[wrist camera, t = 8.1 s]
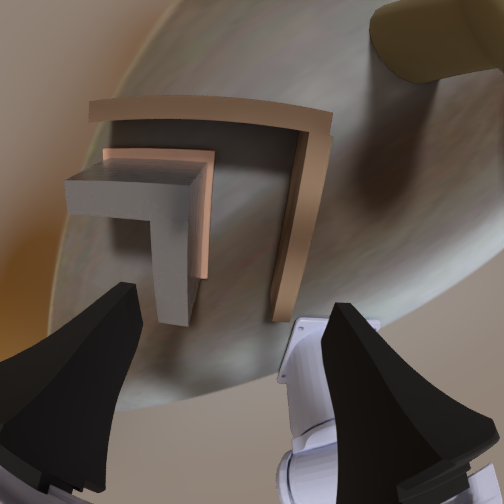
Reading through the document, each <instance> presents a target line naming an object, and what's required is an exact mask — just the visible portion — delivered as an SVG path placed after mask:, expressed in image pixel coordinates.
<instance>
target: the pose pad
mask: <svg viewBox="0 0 504 504" xmlns="http://www.w3.org/2000/svg"><path fill="white" fill-rule="evenodd" d="M108 158H136V159H164V160H182V161H196V162H208V164H207V177H206V190H205V204H204V220H203V239H202V263H201V278H203V279H207V278H208V258H209V236H210V218H211V201H212V187H213V173H214V161H215V151H213V150H198V149H178V148H105V149H103V161H104V160H106V159H108Z"/></svg>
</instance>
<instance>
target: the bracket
mask: <svg viewBox="0 0 504 504" xmlns="http://www.w3.org/2000/svg"><path fill="white" fill-rule="evenodd" d="M207 164H208V162H196V161H182V160H164V159H136V158H108V159H106V160H104V161H102V162H100V163H97V164H95V165H93V166H91V167H89V168H87V169H85V170H83V171H81V172H79V173H77V174H75V175H73V176H72V177H70V178H68V179H66V180H65V181H64V182H65V193H66V201H67V209H68V214H76V215H89V216H101V217H112V218H124V219H135V220H145V221H150V232H151V250H152V264H153V276H154V287H155V297H156V305H157V314H158V321H159V322H160V323H166V324H173V325H179V326H186V327H188V326H189V322H190V318H191V314H192V310H193V306H194V302H195V298H196V294H197V291H198V287H199V283H200V279H201V263H202V239H203V220H204V204H205V190H206V177H207Z"/></svg>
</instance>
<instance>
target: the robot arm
mask: <svg viewBox="0 0 504 504" xmlns="http://www.w3.org/2000/svg"><path fill="white" fill-rule="evenodd" d="M380 326H381V323H380V321H379V320H366V319H365V318H364V317H363V316H362V315H361V314H360V313H359V312H358V311H357V309H356V308H355V307H354V306H353V305H352V304H351V303H336V302H335V304H334V307H333V310H332V312H331V315H330V318H329V319H324V318H298V319H297V320H296V322H295V325H294V328H293V331H292V335H291V338H290V341H289V344H288V347H287V350H286V353H285V356H284V359H283V362H282V365H281V368H280V371H279V374H278V377H277V382H278V383H280V384H287V395H288V406H289V417H290V428H291V432H292V434H293V436H294V439H292V450H290V451H288V452H286V453H285V455H284V456H283V457H282V460H281V462H280V464H279V466H278V469H277V474H276V488H277V493H278V497H279V500H280V502H281V504H503V502H502V497H501V493H500V489H499V485H498V481H497V477H496V474H495V470H494V467H493V464H492V463H489V464H487V465H486V466H484V467H483V468H481V469H480V470H478V471H476V472H475V473H473V474H471V475H470V476H468V477H467V474H466V472H467V471H469V470H470V468H471V467H470V464H469V462H470V461H472V460H473V459H475V458H476V457H478V456H479V455H480V454H482V453H484V452H485V451H486V450H488V449H489V448H491V447H492V446H493V445H494V444H496V443H497V442H498V441H499V439H500V437H499V434H498V432H497V430H496V427H495V424H494V422H493V420H492V419H491V418H488V417H486V416H484V415H482V414H480V413H477V412H475V411H473V410H471V409H469V408H467V407H466V406H464V405H462V404H460V403H459V402H457V401H455V400H454V399H452V398H450V397H449V396H448V395H446V394H445V393H443V392H442V391H440V390H439V389H438V388H436V387H435V386H433V385H432V384H431V383H430V382H428V381H427V380H426V379H425V378H423V377H422V376H421V375H420V374H419V373H418V372H416V371H415V370H414V369H413V368H412V367H410V365H408V364H407V363H406V362H405V361H404V360H403V359H402V358H401V357H400V356H399V355H398V354H397V353H396V352H395V351H394V350H393V349H392V348H391V347H390V346H389V345H388V344H387V342H385V340H384V339H383V338H382V337H381V336H380V335H379V334H378V333H377V332H378V330H379V328H380ZM142 327H143V321H142V316H141V311H140V306H139V301H138V295H137V289H136V284H133V283H126V282H120V283H118V284H117V285H116V286H114V287H113V288H112V289H110V290H109V291H108V292H107V293H105V294H104V295H103V296H102V297H100V298H99V299H98V300H97V301H95V302H94V303H93V304H92V305H90V306H89V307H88V308H87V309H85V310H84V311H83V312H82V313H80V314H79V315H78V316H76V317H75V318H73V319H72V320H71V321H69V322H68V323H67V324H65V325H64V326H63V327H61V328H60V329H59V330H57V331H56V332H54V333H53V334H51V335H50V336H48V337H47V338H45V339H43V340H42V341H40V342H39V343H37V344H35V345H34V346H32V347H30V348H28V349H26V350H24V351H22V352H20V353H18V354H17V355H15V356H13V357H10V358H8V359H6V360H4V361H2V362H0V504H92V503H90V502H87V501H85V500H83V499H80V498H78V497H76V496H74V495H72V491H73V489H75V490H77V491H79V492H83V488H86V489H89V490H91V491H94V492H96V493H100V492H103V491H104V490H105V489H106V486H105V483H106V460H107V451H108V442H109V436H110V430H111V424H112V419H113V414H114V410H115V406H116V402H117V399H118V396H119V393H120V390H121V387H122V385H123V382H124V380H125V377H126V374H127V372H128V369H129V367H130V364H131V362H132V359H133V357H134V354H135V352H136V349H137V346H138V342H139V339H140V335H141V331H142ZM299 327H301V328H299Z"/></svg>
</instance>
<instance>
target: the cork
mask: <svg viewBox="0 0 504 504" xmlns="http://www.w3.org/2000/svg"><path fill="white" fill-rule="evenodd" d="M369 31H370V36H371V40H372V44H373V46H374V48H375V50H376V52H377V54H378V56H379V57H380V58H381V60H382V61H383V62H384V63H385V65H386V66H387V67H388V68H389V69H390V70H391V71H393V72H394V73H395V74H396V75H398V76H399V77H401V78H403V79H405V80H407V81H410V82H413V83H421V84H423V83H427V82H431V81H435V80H439V79H443V78H447V77H452V76H456V75H461V74H466V73H471V72H477V71H483V70H489V69H496V68H499V69H500V70H501V71H502V72H503V73H504V0H400V1H396V2H393V3H390V4H387V5H384V6H382V7H381V8H379V9H377V10H376V11H375V13H374V14H373V16H372V18H371V20H370V29H369Z"/></svg>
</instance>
